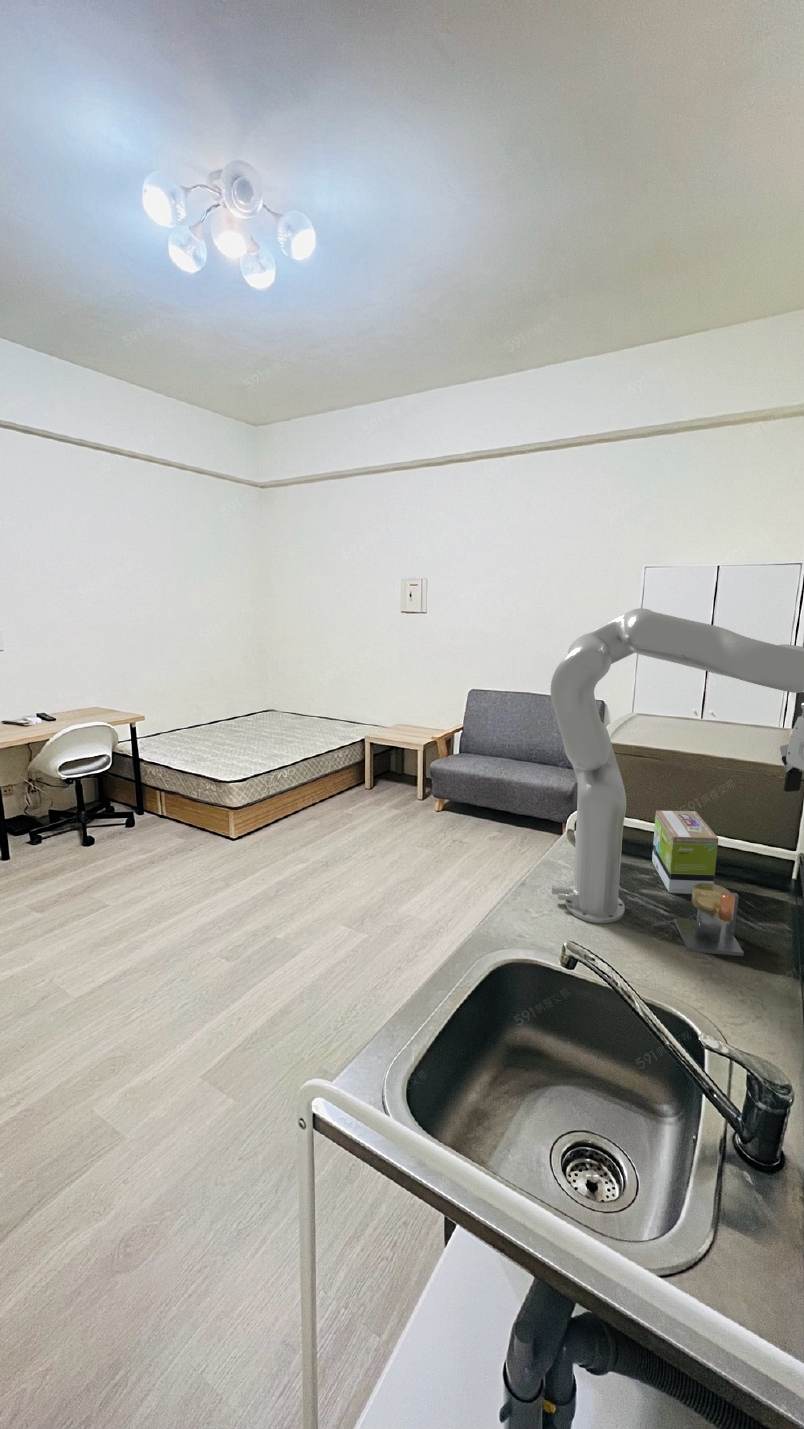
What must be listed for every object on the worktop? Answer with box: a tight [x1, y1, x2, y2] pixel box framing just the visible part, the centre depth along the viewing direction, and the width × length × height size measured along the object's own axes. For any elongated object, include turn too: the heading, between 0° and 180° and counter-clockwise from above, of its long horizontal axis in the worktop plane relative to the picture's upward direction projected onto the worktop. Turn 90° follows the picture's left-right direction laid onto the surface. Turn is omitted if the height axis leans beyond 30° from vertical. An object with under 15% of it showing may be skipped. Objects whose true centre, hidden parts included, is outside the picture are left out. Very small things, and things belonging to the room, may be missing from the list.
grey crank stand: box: [674, 892, 745, 957], centre depth 117 cm, size 10×10×9 cm
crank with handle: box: [691, 883, 735, 924], centre depth 113 cm, size 12×7×7 cm, turn 169°
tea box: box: [651, 809, 719, 895], centre depth 139 cm, size 15×10×15 cm, turn 172°
